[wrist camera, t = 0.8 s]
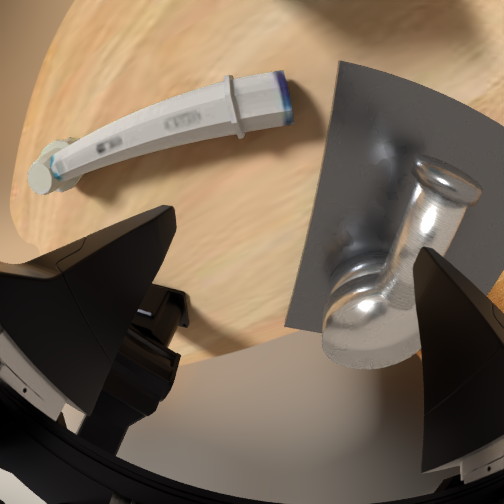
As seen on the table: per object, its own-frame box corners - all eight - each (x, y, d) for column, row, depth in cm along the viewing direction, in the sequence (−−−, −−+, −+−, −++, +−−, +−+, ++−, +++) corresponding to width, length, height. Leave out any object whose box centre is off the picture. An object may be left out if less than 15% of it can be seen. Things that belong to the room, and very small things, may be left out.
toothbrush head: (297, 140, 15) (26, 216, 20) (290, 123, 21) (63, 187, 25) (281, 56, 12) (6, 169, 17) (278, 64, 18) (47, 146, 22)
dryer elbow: (395, 340, 24) (399, 379, 21) (312, 329, 25) (308, 370, 22) (483, 177, 13) (517, 209, 10) (373, 138, 14) (393, 160, 11)
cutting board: (444, 340, 28) (450, 365, 25) (285, 319, 30) (280, 348, 27) (545, 157, 12) (569, 174, 9) (338, 61, 15) (345, 57, 11)
